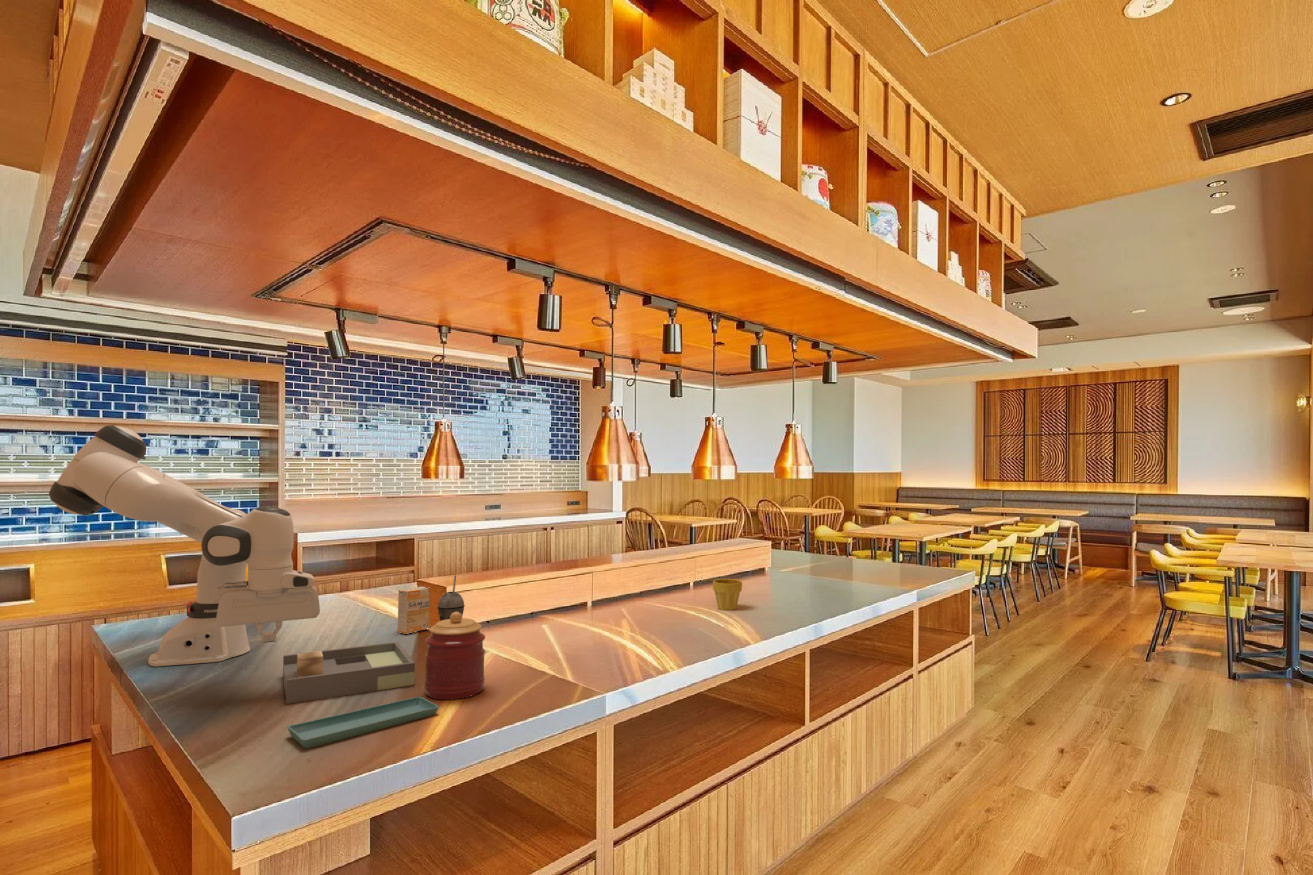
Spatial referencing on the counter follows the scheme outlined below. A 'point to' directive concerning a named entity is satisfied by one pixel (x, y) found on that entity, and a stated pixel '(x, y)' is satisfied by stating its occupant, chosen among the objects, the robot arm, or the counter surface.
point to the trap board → (350, 672)
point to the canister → (454, 658)
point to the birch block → (309, 664)
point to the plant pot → (727, 593)
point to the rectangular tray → (360, 721)
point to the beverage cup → (450, 604)
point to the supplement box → (413, 609)
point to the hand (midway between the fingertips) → (268, 642)
